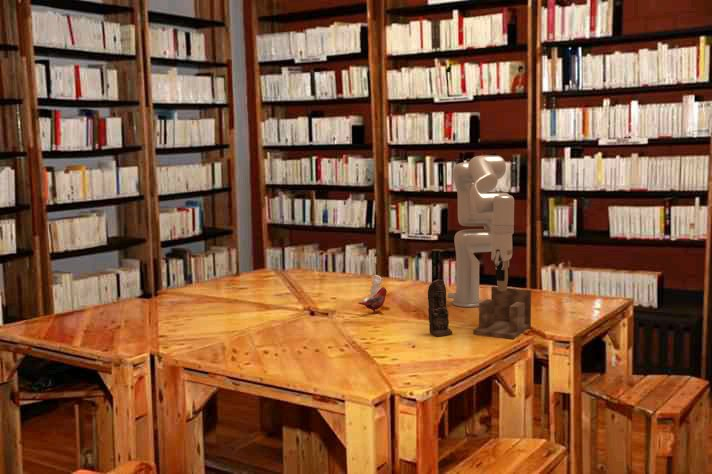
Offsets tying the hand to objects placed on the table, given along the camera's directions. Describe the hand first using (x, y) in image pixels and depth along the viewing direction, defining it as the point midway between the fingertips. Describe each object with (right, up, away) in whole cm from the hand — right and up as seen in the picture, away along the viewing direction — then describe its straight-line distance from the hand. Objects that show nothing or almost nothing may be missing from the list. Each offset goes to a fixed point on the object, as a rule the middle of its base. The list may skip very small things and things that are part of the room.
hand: (502, 278), depth 293 cm
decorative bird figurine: (-46, -16, +31) cm, 58 cm away
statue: (-23, -20, 0) cm, 30 cm away
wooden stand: (0, -19, +3) cm, 19 cm away
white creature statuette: (-45, -13, +52) cm, 70 cm away
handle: (0, -4, +1) cm, 4 cm away
